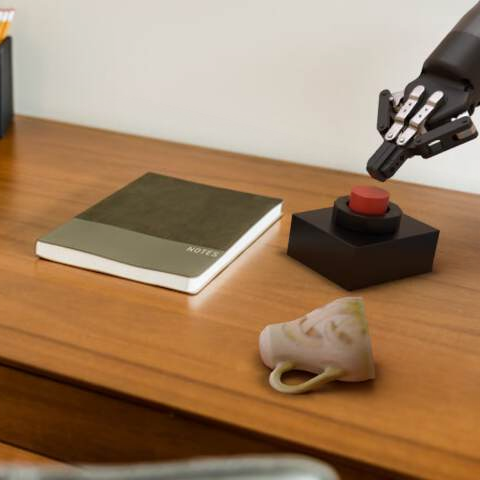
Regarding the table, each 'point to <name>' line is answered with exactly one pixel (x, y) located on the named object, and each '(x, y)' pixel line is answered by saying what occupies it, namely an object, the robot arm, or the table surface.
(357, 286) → the console
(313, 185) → the table surface
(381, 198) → the button
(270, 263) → the table surface
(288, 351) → the mug
